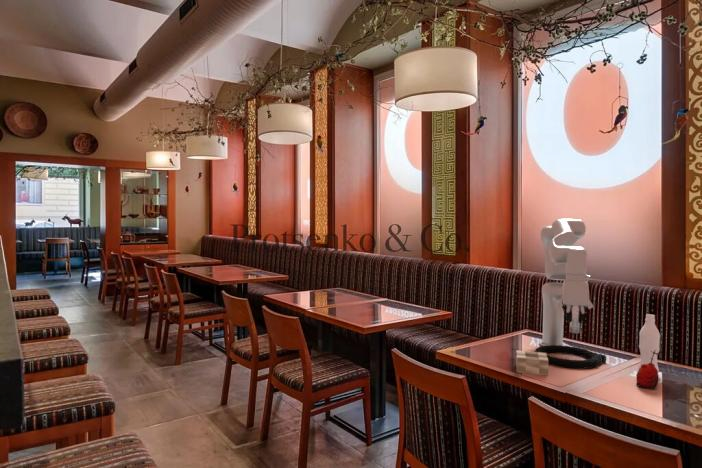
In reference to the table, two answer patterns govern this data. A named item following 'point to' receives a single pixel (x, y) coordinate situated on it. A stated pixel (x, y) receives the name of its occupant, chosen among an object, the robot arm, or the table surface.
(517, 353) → the cream rectangular block
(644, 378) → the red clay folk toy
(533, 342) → the table surface
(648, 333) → the water bottle
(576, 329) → the peg
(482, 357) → the table surface
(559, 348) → the cable lock
